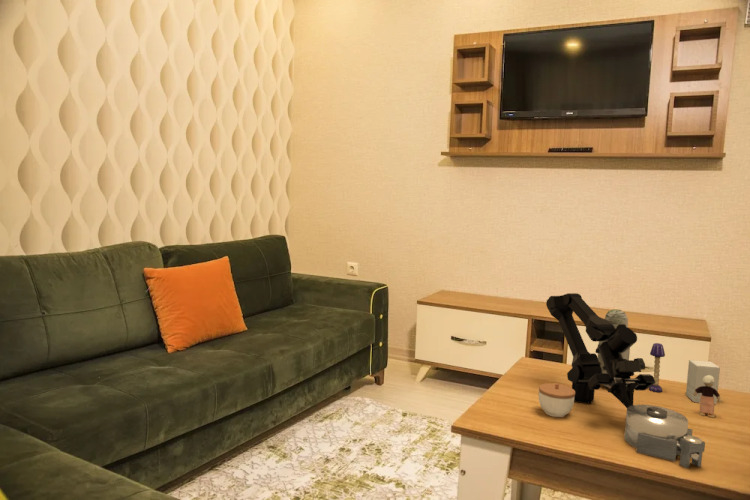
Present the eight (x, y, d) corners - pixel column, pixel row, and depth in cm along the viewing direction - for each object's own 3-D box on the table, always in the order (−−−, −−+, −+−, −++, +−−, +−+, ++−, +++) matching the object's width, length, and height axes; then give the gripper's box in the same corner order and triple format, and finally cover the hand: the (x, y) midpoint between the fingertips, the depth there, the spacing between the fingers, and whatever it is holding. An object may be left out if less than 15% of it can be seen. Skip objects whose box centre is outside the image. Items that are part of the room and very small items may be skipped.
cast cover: (628, 450, 146) (631, 416, 146) (620, 428, 161) (623, 397, 160) (691, 459, 142) (695, 425, 141) (678, 436, 156) (681, 404, 156)
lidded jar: (579, 413, 171) (581, 384, 170) (564, 423, 163) (566, 392, 162) (546, 404, 178) (548, 375, 177) (530, 412, 170) (532, 383, 169)
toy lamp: (656, 393, 192) (660, 346, 190) (644, 388, 196) (648, 343, 194) (665, 391, 194) (669, 345, 192) (652, 387, 198) (656, 341, 196)
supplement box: (717, 404, 183) (720, 367, 181) (692, 402, 184) (696, 365, 183) (708, 397, 190) (712, 361, 189) (685, 394, 191) (688, 359, 190)
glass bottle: (592, 381, 202) (598, 306, 199) (621, 383, 201) (627, 307, 198) (599, 390, 192) (605, 311, 190) (630, 393, 191) (636, 313, 188)
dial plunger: (670, 449, 144) (671, 440, 143) (678, 448, 144) (679, 440, 144) (692, 462, 137) (693, 453, 137) (700, 461, 137) (701, 452, 137)
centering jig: (634, 450, 146) (636, 425, 146) (688, 445, 150) (690, 421, 150) (667, 472, 135) (669, 444, 134) (724, 466, 139) (727, 439, 139)
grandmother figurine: (718, 414, 174) (722, 375, 172) (720, 419, 170) (724, 379, 169) (690, 410, 177) (694, 371, 176) (691, 414, 173) (695, 375, 172)
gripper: (598, 346, 159) (616, 397, 150) (655, 348, 163) (677, 398, 153) (580, 364, 168) (596, 413, 158) (635, 365, 171) (654, 414, 162)
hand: (631, 409), depth 157 cm, fingers closed, pressing on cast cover
